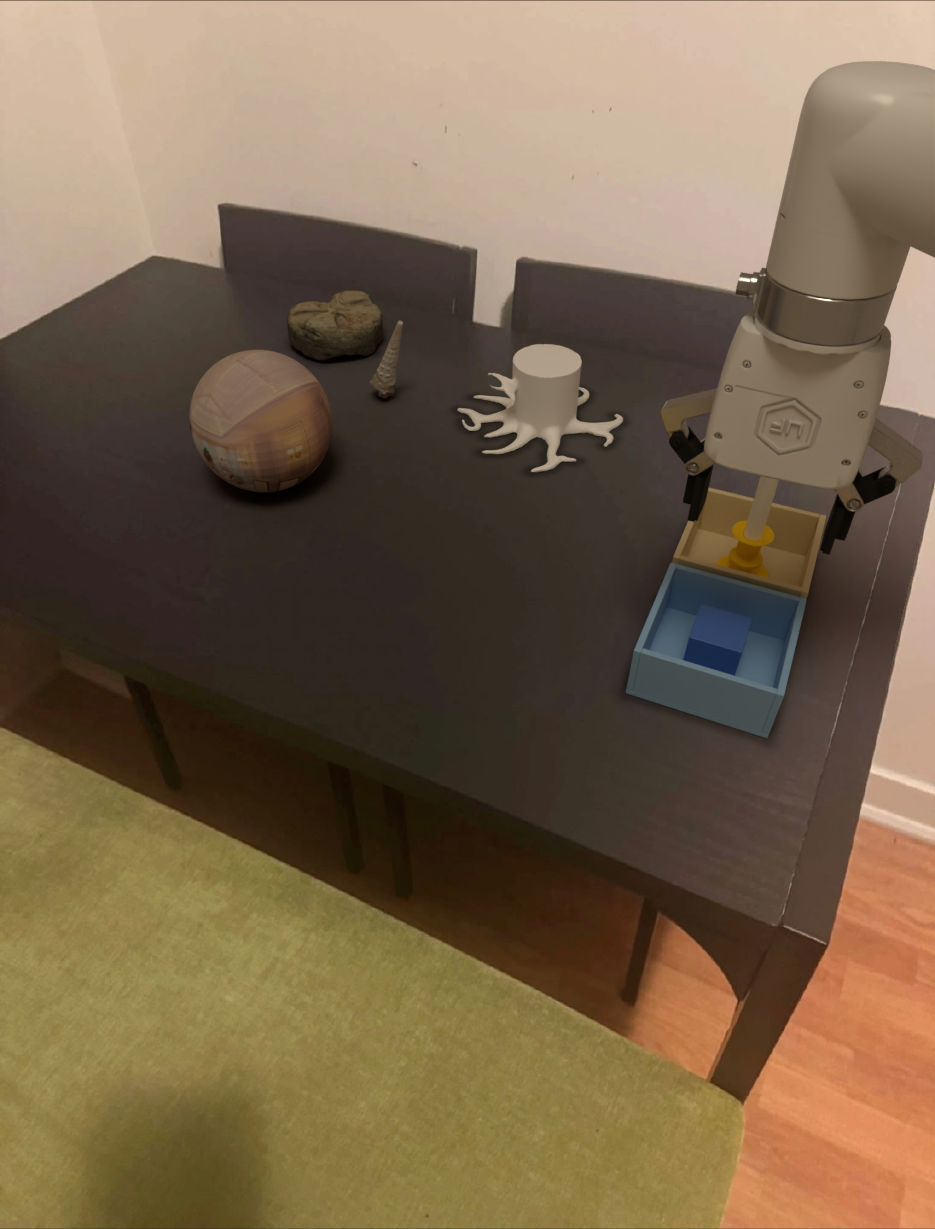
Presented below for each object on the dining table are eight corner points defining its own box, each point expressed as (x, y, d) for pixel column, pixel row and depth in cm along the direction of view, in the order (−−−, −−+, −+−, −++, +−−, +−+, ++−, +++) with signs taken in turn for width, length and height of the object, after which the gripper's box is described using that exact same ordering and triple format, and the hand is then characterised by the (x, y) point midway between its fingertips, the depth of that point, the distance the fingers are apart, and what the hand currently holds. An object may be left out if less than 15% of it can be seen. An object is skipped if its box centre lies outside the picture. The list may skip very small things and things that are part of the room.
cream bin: (810, 558, 87) (826, 515, 84) (792, 636, 79) (808, 593, 76) (693, 527, 91) (702, 485, 87) (663, 599, 83) (672, 556, 79)
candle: (778, 582, 84) (825, 448, 73) (736, 599, 82) (777, 463, 71) (744, 552, 87) (783, 419, 76) (703, 567, 86) (737, 433, 75)
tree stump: (445, 394, 111) (443, 336, 105) (583, 371, 115) (588, 314, 109) (495, 481, 97) (497, 418, 91) (650, 451, 101) (660, 390, 96)
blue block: (741, 653, 77) (752, 617, 74) (730, 688, 74) (742, 652, 71) (691, 638, 79) (701, 603, 75) (679, 672, 76) (688, 636, 72)
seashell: (376, 390, 112) (369, 308, 104) (413, 397, 110) (408, 314, 103) (366, 401, 110) (358, 318, 102) (403, 409, 108) (398, 325, 101)
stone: (278, 333, 123) (272, 298, 119) (364, 314, 127) (361, 279, 123) (307, 375, 115) (301, 337, 111) (398, 353, 119) (396, 316, 115)
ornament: (332, 436, 104) (317, 318, 93) (345, 510, 93) (330, 386, 83) (206, 450, 102) (176, 331, 91) (205, 528, 91) (171, 403, 81)
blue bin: (790, 642, 79) (807, 598, 75) (767, 738, 71) (784, 696, 67) (661, 605, 82) (670, 561, 79) (625, 693, 74) (633, 650, 71)
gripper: (667, 305, 52) (633, 527, 64) (975, 357, 47) (877, 588, 59) (696, 261, 57) (660, 474, 69) (978, 303, 52) (887, 526, 64)
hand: (760, 526), depth 64 cm, fingers open, 9 cm apart
